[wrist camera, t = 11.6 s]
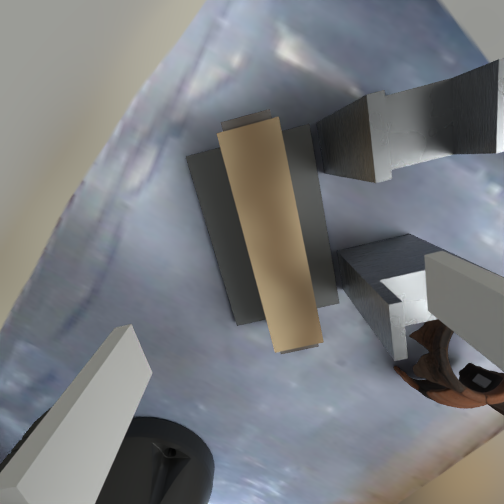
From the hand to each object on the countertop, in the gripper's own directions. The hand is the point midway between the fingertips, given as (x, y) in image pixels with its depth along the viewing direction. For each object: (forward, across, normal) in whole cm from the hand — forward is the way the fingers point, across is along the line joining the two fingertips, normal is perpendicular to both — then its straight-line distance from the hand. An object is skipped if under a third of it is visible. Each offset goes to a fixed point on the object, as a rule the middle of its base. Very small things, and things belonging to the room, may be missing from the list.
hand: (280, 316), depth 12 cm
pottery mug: (+14, +15, -16) cm, 26 cm away
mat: (+13, +1, 0) cm, 13 cm away
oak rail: (+13, +1, 0) cm, 13 cm away
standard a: (+13, +10, -5) cm, 17 cm away
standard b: (+13, +10, +6) cm, 17 cm away
